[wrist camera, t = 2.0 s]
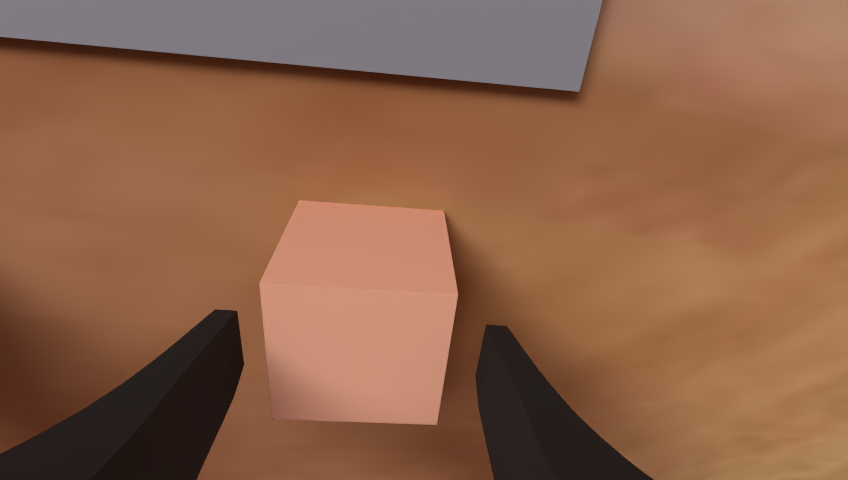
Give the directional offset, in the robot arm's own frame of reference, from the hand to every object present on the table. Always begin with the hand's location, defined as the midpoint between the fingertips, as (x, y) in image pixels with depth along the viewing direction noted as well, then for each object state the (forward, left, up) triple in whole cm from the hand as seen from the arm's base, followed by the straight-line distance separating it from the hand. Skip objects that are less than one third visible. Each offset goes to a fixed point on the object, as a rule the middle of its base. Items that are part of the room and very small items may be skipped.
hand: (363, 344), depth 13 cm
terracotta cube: (0, 0, -4) cm, 4 cm away
